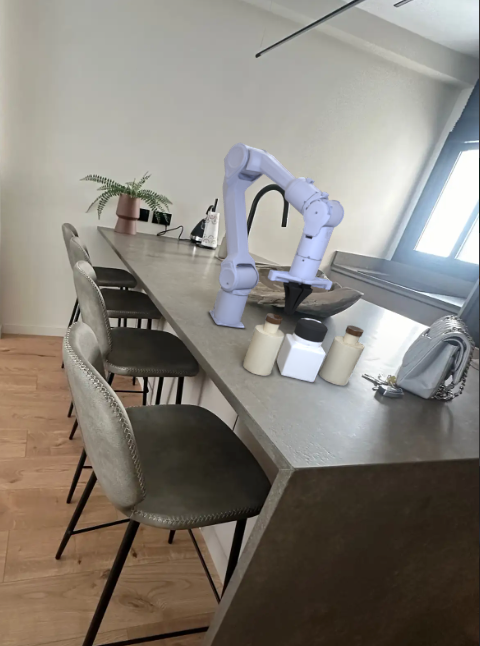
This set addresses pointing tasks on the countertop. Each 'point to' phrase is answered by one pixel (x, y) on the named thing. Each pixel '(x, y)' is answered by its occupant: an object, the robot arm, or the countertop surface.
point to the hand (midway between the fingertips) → (287, 313)
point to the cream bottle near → (264, 346)
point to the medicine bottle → (303, 350)
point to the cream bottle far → (342, 357)
